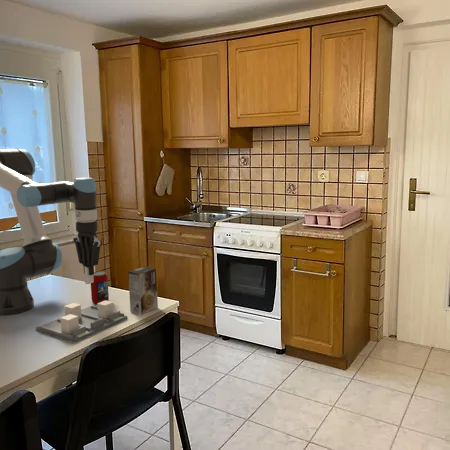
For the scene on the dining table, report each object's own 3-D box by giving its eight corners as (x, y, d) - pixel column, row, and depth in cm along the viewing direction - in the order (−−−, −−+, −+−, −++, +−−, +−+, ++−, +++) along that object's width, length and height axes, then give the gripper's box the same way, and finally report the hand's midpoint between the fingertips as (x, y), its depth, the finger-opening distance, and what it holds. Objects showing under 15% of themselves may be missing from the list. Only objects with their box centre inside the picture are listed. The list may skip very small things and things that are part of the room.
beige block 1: (65, 319, 163) (64, 306, 162) (74, 315, 166) (73, 302, 165) (72, 321, 161) (71, 308, 160) (81, 317, 164) (80, 304, 163)
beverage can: (104, 304, 180) (102, 275, 178) (88, 303, 182) (86, 275, 180) (111, 299, 187) (110, 271, 185) (96, 298, 188) (94, 270, 186)
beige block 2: (61, 331, 152) (60, 317, 151) (71, 327, 155) (70, 314, 154) (69, 334, 150) (68, 320, 149) (79, 330, 153) (78, 316, 152)
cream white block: (98, 316, 165) (97, 303, 164) (106, 313, 168) (105, 300, 168) (105, 318, 163) (104, 305, 162) (114, 315, 166) (113, 302, 165)
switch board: (35, 330, 156) (35, 321, 156) (90, 308, 176) (89, 301, 176) (74, 342, 146) (73, 334, 145) (127, 318, 166) (127, 310, 165)
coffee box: (146, 304, 180) (144, 265, 177) (158, 307, 176) (156, 268, 173) (129, 311, 173) (127, 271, 170) (141, 315, 169) (139, 273, 166)
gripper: (66, 220, 164) (69, 282, 168) (90, 224, 157) (93, 288, 161) (82, 217, 170) (85, 277, 174) (107, 221, 163) (109, 283, 168)
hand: (89, 282), depth 168 cm, fingers closed
